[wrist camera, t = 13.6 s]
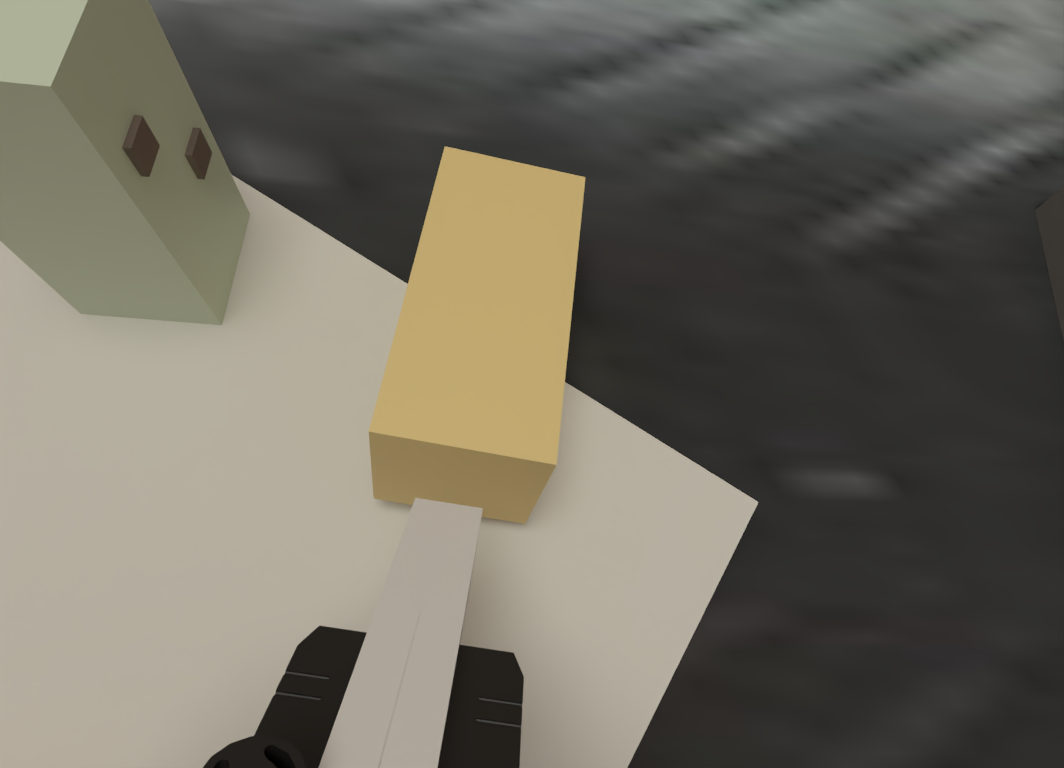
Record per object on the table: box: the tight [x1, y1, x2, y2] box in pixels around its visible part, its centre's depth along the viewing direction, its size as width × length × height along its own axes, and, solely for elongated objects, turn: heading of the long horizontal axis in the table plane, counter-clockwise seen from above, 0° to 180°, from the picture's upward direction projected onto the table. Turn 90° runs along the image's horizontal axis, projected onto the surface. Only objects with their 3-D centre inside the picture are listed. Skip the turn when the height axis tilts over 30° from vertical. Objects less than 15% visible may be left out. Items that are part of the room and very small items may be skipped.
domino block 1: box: [0, 0, 250, 325], centre depth 18 cm, size 4×5×10 cm
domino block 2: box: [369, 146, 585, 524], centre depth 20 cm, size 4×5×10 cm
